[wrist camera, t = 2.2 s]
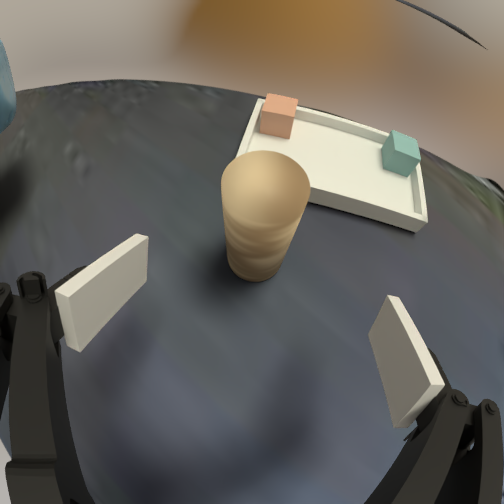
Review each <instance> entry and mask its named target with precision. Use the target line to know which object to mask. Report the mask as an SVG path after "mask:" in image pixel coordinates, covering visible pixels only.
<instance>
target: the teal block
mask: <svg viewBox="0 0 504 504" xmlns="http://www.w3.org/2000/svg"><path fill="white" fill-rule="evenodd" d="M381 151H382V163H383V169H386V170H389V171H391V172H394V173H397V174H400V175H402V176H405V177H408V176H409V175H410V174H411V172H412V171H413V170H414V168H415V167H416V166H417V165H418V163H419V162H420V161H421V158H420V153H419V148H418V144H417V140H416V139H414V138H411V137H409V136H406V135H404V134H402V133H399V132H396V131H394V130H392V131H391V132H390V134H389V136H388V138H387V139H386V141H385V143H384V145H383V146H382V148H381Z"/></svg>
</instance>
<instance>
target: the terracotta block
mask: <svg viewBox="0 0 504 504" xmlns="http://www.w3.org/2000/svg"><path fill="white" fill-rule="evenodd" d="M297 102H298V99H294V98H290V97H285V96H280V95H275V94H269V93H268V94H267V97H266V100H265V103H264V105H263V108H262V112H261V122H260V132H259V133H262V134H267V135H272V136H276V137H281V138H286V139H290V135H291V130H292V126H293V121H294V117H295V112H296V107H297Z"/></svg>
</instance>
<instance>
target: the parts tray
mask: <svg viewBox="0 0 504 504" xmlns="http://www.w3.org/2000/svg"><path fill="white" fill-rule="evenodd" d="M264 103H265V100H264V99H258V101H257V103H256V106H255V108H254V111H253V113H252V116H251V119H250V121H249V124H248V126H247V129H246V132H245V134H244V137H243V140H242V142H241V145H240V148H239V150H238V153H237V156H236V158H237V157H238V156H240V155H242V154H245V153H248V152H252V151H258V150H267V151H274V152H278V153H281V154H284V155H286V156H288V157H290V158H291V159H293V160H294V161H296V162H297V163H298V164H299V165H300V166H301V167H302V168H303V169H304V171H305V172H306V174H307V176H308V179H309V182H310V196H309V200H308V202H312V203H316V204H320V205H324V206H328V207H331V208H335V209H339V210H342V211H346V212H350V213H353V214H357V215H360V216H364V217H367V218H371V219H374V220H378V221H381V222H384V223H387V224H391V225H394V226H397V227H400V228H404V229H407V230H410V231H413V232H417V231H419V230H420V229H421V228H422V227H423V226H424V225H426V224H427V223H428V219H427V209H426V201H425V193H424V186H423V180H422V174H421V168H420V162H419V163H418V165H417V166H416V167H415V168H414V170H413V171H412V172H411V174H410V175H409V176H408V177H405V176H402V175H400V174H397V173H394V172H391V171H389V170H386V169H383V163H382V151H381V148H382V146H383V145H384V143H385V141H386V139H387V138H388V136H389V134H388V133H385V132H383V131H380V130H377V129H374V128H371V127H369V126H366V125H363V124H360V123H356V122H353V121H350V120H347V119H343V118H340V117H337V116H333V115H330V114H326V113H322V112H318V111H315V110H311V109H306V108H302V107H298V106H297V107H296V112H295V117H294V121H293V126H292V130H291V135H290V139H286V138H281V137H276V136H272V135H267V134H262V133H259V132H260V122H261V112H262V108H263V105H264Z"/></svg>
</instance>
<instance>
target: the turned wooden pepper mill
mask: <svg viewBox="0 0 504 504" xmlns="http://www.w3.org/2000/svg"><path fill="white" fill-rule="evenodd" d="M221 191H222V203H223V215H224V227H225V238H226V249H227V259H228V263H229V266H230V268H231V269H232V271H233V272H234V273H235V274H236V275H237V276H238V277H240V278H242V279H244V280H247V281H251V282H260V281H264V280H267V279H269V278H271V277H272V276H273V275H274V274H276V272H277V271H278V270H279V268H280V266H281V264H282V261H283V259H284V257H285V254H286V252H287V250H288V247H289V245H290V243H291V240H292V238H293V236H294V233H295V231H296V228H297V226H298V224H299V221H300V219H301V216H302V214H303V212H304V209H305V207H306V204H307V202H308V200H309V196H310V182H309V179H308V176H307V174H306V172H305V171H304V169H303V168H302V167H301V166H300V165H299V164H298V163H297V162H296V161H294V160H293V159H291V158H290V157H288V156H286V155H284V154H281V153H278V152H274V151H267V150H258V151H252V152H248V153H245V154H242V155H240V156H238V157H237V158H235V159H234V160H233V161H232V162H230V164H229V165H228V166H227V167H226V169H225V170H224V173H223V175H222V179H221Z"/></svg>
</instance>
